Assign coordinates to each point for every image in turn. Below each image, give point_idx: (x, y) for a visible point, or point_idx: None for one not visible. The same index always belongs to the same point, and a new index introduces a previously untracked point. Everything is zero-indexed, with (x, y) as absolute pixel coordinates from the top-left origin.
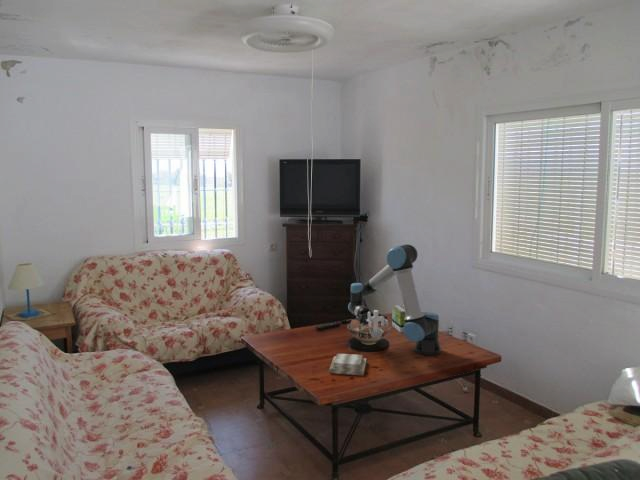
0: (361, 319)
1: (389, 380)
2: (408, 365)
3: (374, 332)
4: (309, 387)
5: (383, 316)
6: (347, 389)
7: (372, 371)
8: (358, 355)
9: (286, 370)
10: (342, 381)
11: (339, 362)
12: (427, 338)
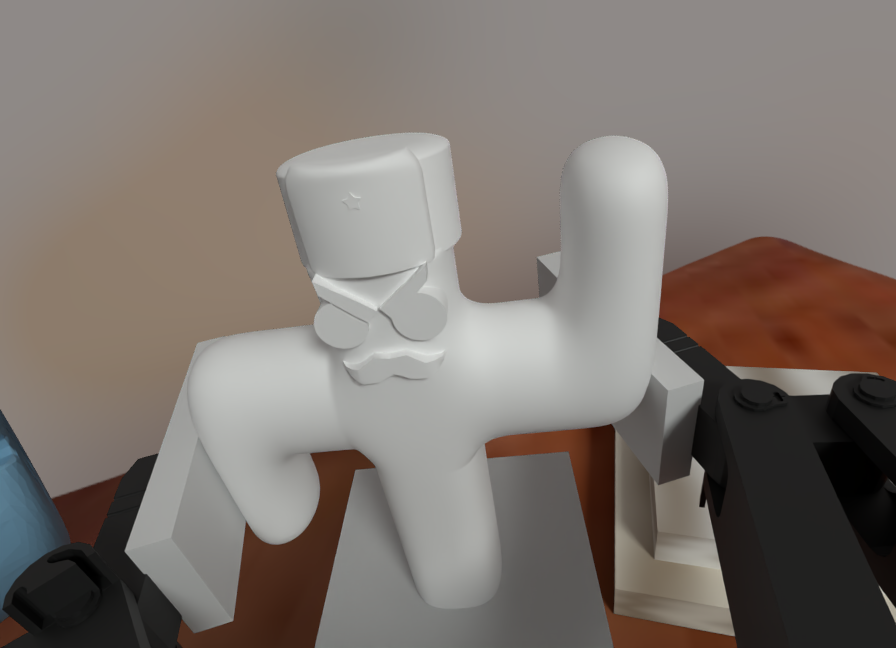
0: (851, 377)
1: None
2: (262, 544)
3: (500, 463)
4: (882, 280)
5: (80, 545)
6: (675, 284)
7: (555, 444)
8: (700, 518)
9: None
10: (727, 333)
11: (827, 380)
12: None
